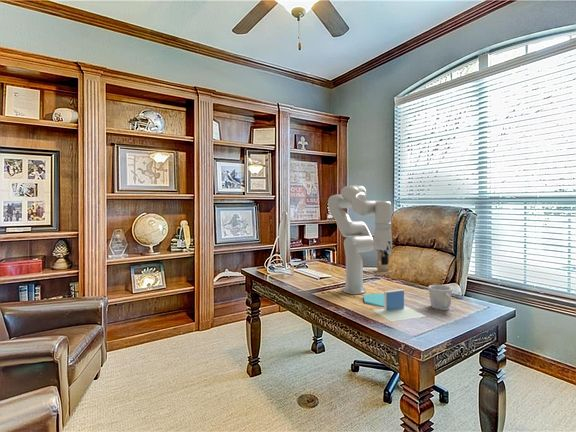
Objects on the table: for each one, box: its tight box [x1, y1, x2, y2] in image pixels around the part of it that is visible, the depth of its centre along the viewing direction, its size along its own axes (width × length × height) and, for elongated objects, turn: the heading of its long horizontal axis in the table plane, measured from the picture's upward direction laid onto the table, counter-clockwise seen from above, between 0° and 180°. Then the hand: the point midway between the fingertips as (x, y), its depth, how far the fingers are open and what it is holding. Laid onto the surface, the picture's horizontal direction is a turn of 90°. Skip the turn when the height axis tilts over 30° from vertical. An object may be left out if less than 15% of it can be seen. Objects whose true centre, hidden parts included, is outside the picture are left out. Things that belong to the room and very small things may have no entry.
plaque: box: [362, 292, 384, 308], centre depth 166 cm, size 18×2×20 cm
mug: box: [428, 284, 453, 311], centre depth 152 cm, size 10×15×10 cm
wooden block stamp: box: [372, 250, 394, 276], centre depth 159 cm, size 6×7×11 cm
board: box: [372, 305, 427, 322], centre depth 147 cm, size 15×18×1 cm
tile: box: [383, 288, 405, 311], centre depth 152 cm, size 2×10×9 cm, turn 107°
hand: (382, 263), depth 159 cm, fingers closed on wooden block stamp
